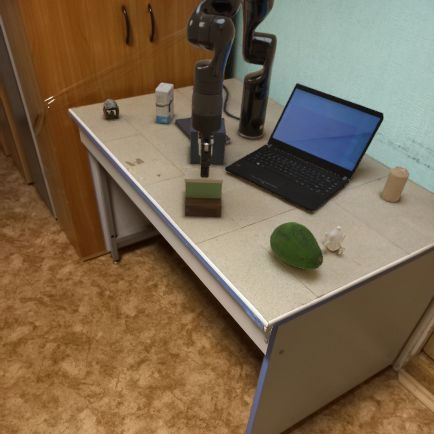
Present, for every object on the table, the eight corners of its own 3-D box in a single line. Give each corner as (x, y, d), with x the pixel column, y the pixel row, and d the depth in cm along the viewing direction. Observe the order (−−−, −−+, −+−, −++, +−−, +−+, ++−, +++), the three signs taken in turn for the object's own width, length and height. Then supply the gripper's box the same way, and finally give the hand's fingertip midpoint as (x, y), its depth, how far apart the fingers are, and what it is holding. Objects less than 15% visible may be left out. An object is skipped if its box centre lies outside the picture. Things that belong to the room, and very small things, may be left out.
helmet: (118, 117, 163) (113, 98, 160) (123, 116, 156) (119, 96, 153) (103, 120, 160) (98, 100, 158) (108, 119, 154) (103, 98, 151)
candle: (400, 195, 133) (412, 166, 126) (397, 203, 130) (410, 174, 123) (382, 190, 135) (393, 161, 128) (379, 198, 131) (391, 169, 124)
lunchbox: (184, 186, 122) (185, 167, 117) (220, 187, 122) (221, 169, 118) (184, 197, 117) (184, 178, 113) (221, 199, 118) (223, 180, 114)
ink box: (168, 124, 159) (167, 92, 150) (155, 122, 159) (154, 90, 151) (174, 115, 164) (174, 83, 156) (162, 113, 165) (161, 81, 157)
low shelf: (185, 192, 127) (185, 181, 124) (218, 193, 127) (219, 182, 125) (184, 216, 118) (185, 204, 115) (220, 217, 119) (221, 205, 116)
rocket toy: (321, 253, 111) (328, 229, 105) (322, 240, 114) (329, 216, 109) (341, 257, 110) (350, 233, 104) (342, 244, 114) (350, 220, 108)
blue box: (190, 147, 147) (190, 116, 139) (221, 148, 148) (224, 117, 140) (190, 163, 139) (190, 131, 131) (223, 164, 140) (226, 132, 132)
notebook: (175, 123, 159) (198, 149, 146) (175, 119, 158) (198, 144, 145) (205, 119, 164) (231, 143, 151) (205, 115, 163) (231, 139, 150)
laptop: (222, 172, 136) (227, 112, 122) (286, 136, 158) (296, 82, 144) (311, 215, 122) (328, 153, 109) (367, 169, 144) (387, 113, 130)
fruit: (327, 272, 105) (338, 241, 98) (297, 286, 101) (306, 255, 94) (289, 239, 114) (296, 208, 107) (259, 251, 110) (265, 219, 102)
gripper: (223, 121, 98) (219, 183, 110) (220, 98, 108) (216, 156, 120) (191, 120, 98) (190, 182, 109) (191, 96, 108) (190, 155, 119)
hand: (204, 168), depth 114 cm, fingers open, 8 cm apart
